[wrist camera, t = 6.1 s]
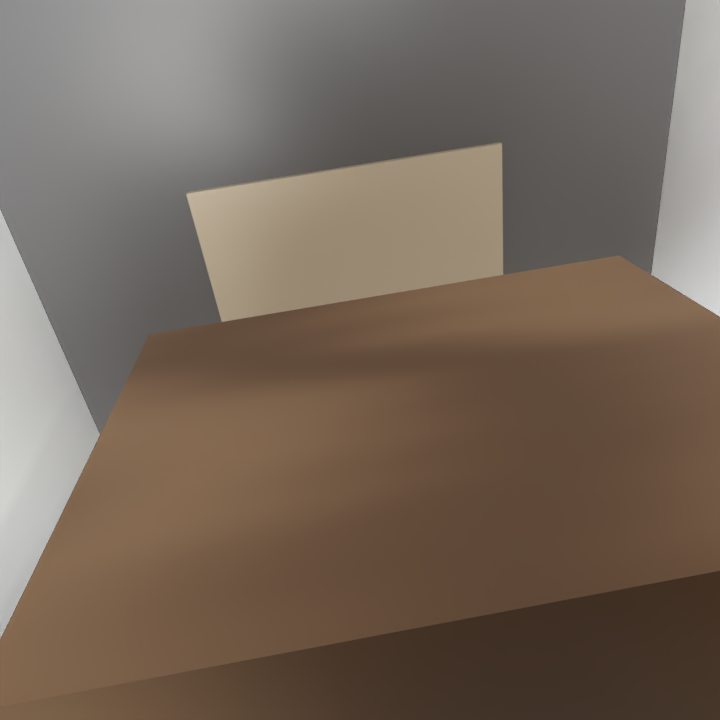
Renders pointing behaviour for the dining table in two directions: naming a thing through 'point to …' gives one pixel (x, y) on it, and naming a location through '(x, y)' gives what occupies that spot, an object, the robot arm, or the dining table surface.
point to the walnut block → (397, 516)
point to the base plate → (317, 153)
